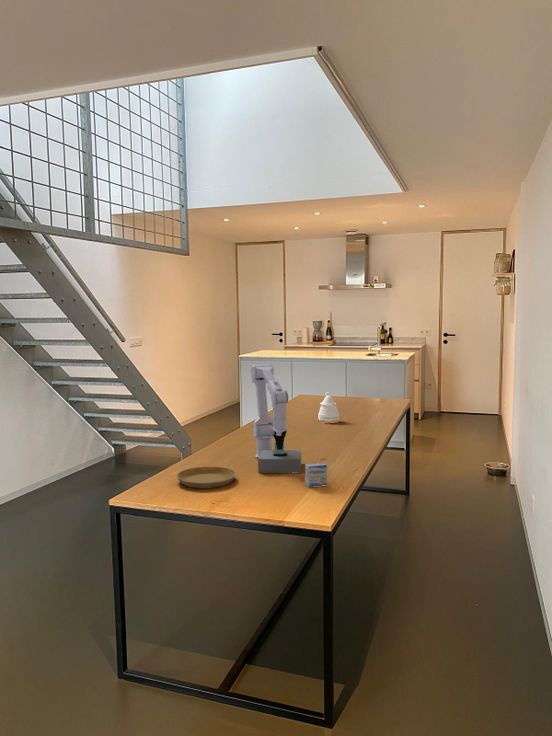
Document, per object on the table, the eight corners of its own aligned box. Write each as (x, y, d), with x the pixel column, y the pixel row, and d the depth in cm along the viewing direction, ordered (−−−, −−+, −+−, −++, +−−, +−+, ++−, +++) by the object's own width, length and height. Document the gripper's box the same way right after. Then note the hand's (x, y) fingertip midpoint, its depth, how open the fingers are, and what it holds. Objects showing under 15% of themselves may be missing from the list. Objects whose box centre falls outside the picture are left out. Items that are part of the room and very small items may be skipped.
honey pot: (314, 421, 360) (314, 392, 358) (332, 419, 365) (332, 391, 363) (324, 424, 348) (324, 395, 346) (342, 422, 354) (343, 393, 352)
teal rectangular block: (275, 451, 257) (275, 440, 256) (284, 451, 257) (284, 440, 256) (274, 453, 253) (274, 442, 252) (283, 453, 253) (283, 442, 252)
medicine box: (308, 488, 226) (308, 466, 225) (304, 484, 230) (304, 463, 230) (327, 486, 228) (327, 464, 227) (323, 483, 233) (323, 462, 232)
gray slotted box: (261, 462, 264) (261, 449, 263) (301, 463, 263) (301, 450, 262) (258, 472, 248) (258, 458, 248) (299, 473, 247) (299, 459, 246)
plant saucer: (207, 470, 254) (207, 462, 253) (248, 480, 238) (247, 472, 238) (164, 483, 235) (164, 475, 235) (205, 495, 220) (205, 486, 220)
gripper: (272, 414, 261) (272, 444, 262) (269, 421, 246) (269, 452, 248) (287, 415, 260) (287, 444, 261) (285, 421, 246) (286, 452, 247)
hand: (280, 448), depth 254 cm, fingers closed on teal rectangular block, 4 cm apart
